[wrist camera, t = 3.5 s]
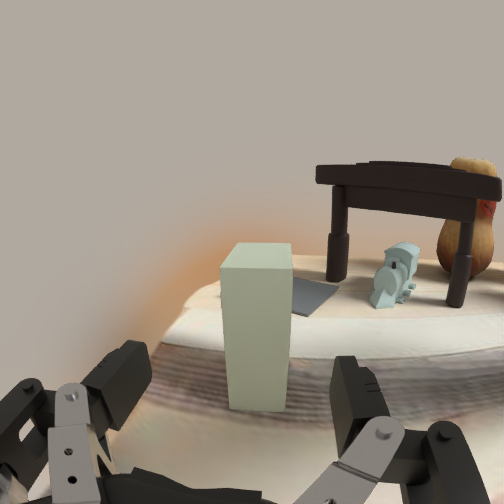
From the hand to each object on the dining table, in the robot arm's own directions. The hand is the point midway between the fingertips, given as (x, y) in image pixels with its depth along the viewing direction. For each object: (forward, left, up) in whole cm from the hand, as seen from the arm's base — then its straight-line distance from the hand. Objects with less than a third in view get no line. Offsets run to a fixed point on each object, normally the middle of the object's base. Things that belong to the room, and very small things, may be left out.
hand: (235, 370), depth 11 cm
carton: (+2, -10, -10) cm, 14 cm away
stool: (-14, -35, -10) cm, 39 cm away
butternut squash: (-33, -46, -10) cm, 58 cm away
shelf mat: (+3, -32, -10) cm, 34 cm away
